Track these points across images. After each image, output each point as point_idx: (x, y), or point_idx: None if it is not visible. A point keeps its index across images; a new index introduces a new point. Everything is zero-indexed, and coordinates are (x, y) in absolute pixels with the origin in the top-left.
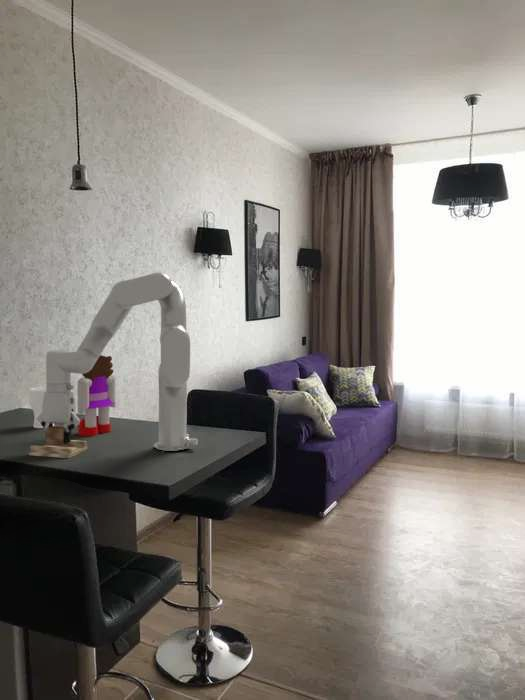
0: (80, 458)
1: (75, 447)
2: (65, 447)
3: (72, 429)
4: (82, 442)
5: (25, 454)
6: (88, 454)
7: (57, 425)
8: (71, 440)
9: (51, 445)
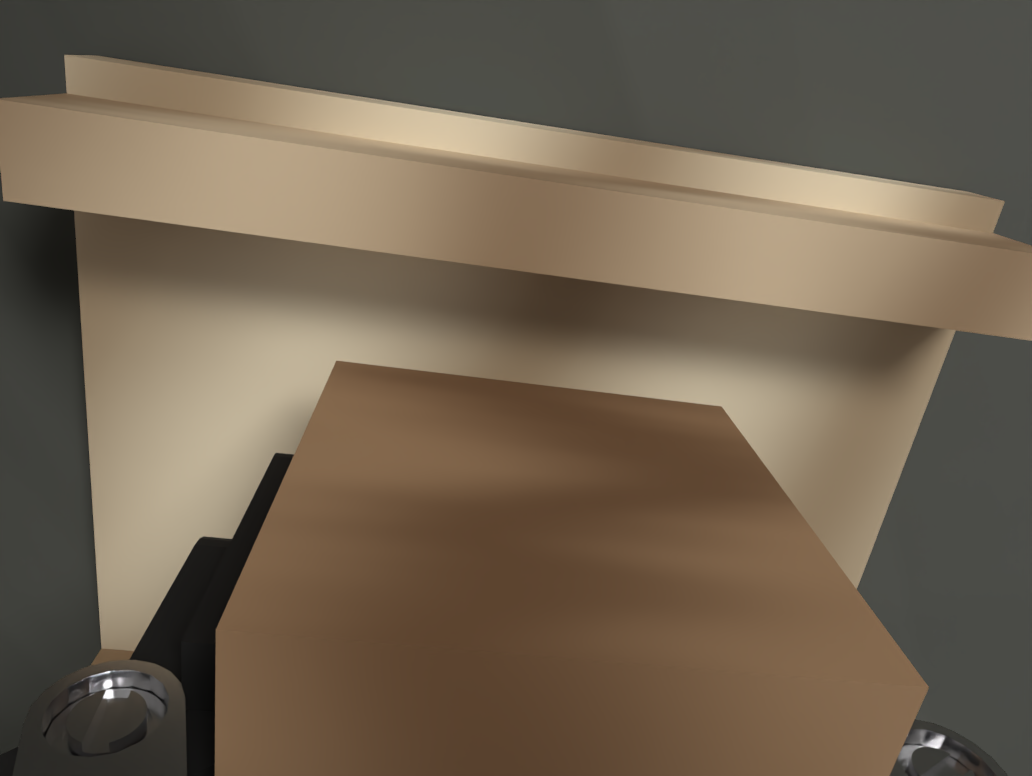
0: (930, 712)
1: (783, 351)
2: (589, 378)
3: (980, 770)
4: (971, 326)
5: (43, 651)
6: (1021, 526)
7: (363, 708)
8: (694, 246)
9: (227, 257)
